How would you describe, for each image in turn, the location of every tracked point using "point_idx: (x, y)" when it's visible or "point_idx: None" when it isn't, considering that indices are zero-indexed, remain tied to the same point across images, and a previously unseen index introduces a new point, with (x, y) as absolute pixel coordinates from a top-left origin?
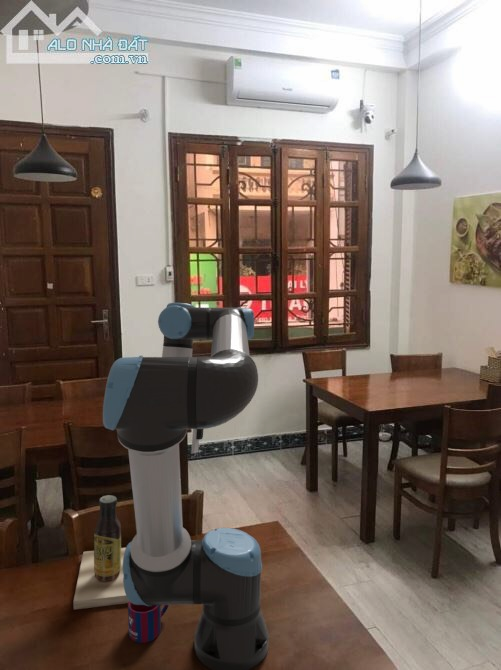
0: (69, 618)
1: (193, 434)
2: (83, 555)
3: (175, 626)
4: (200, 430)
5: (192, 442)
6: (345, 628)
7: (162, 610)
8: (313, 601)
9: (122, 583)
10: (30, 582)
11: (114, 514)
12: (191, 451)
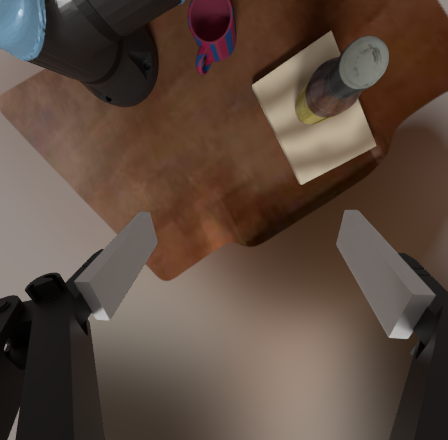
0: (323, 17)
1: (110, 253)
2: (371, 137)
3: (188, 64)
4: (76, 277)
5: (130, 232)
6: (38, 135)
7: (206, 67)
8: (79, 165)
9: (282, 98)
10: (425, 64)
11: (329, 76)
12: (146, 214)
